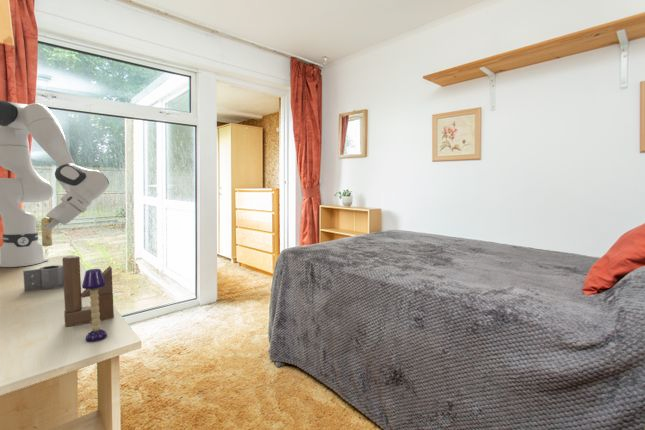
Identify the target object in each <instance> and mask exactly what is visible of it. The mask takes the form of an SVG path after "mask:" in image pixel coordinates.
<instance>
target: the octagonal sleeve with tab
mask: <svg viewBox="0 0 645 430" xmlns="http://www.w3.org/2000/svg"><path fill="white" fill-rule="evenodd" d="M22 272H23V273H22V274H23V287H24V288H23V289H24V290H23V291H24V292H29V291H35V290H36V291H37V290H40V289H42V290H52V289H53V290H54V289H58V288H61V287H64V280H63V265H57V264H56V265H55V264H54V265H53V264H52V265H48V266H47V265H45V266H42V267H40V268H36V269H29V270H23V271H22Z"/></svg>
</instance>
